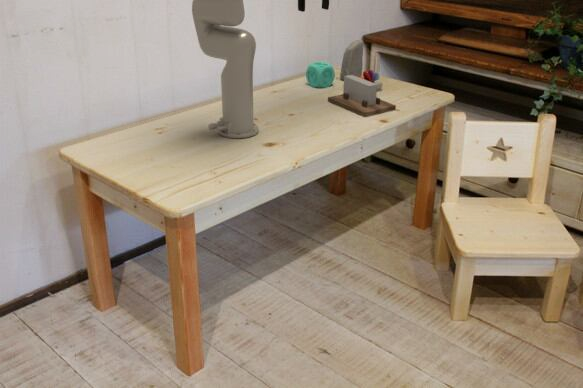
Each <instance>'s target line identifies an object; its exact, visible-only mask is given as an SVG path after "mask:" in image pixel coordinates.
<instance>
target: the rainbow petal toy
mask: <svg viewBox="0 0 583 388" xmlns="http://www.w3.org/2000/svg"><path fill="white" fill-rule="evenodd" d="M359 78H361V79H364V80H367V81H369V82H372V83H374V84H377V91H380V90H381V89H382V87H383V81H382V80H380V74H379V73H378V72H375V71H374V70H373V69H369V70H368V71H366V70H364V71H362V76H359Z"/></svg>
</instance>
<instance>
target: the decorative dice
mask: <svg viewBox="0 0 583 388" xmlns="http://www.w3.org/2000/svg"><path fill="white" fill-rule="evenodd" d="M335 74H336V72H335V69H334V67H333V65H332V64H331V63H329V62H325V61H315V62H310V64H309V65H308V67H307V68H306V71H305V78H306V81H307V83H308V85H310V86H311V87H312V88H316V89H317V88H321V89H322V88H323V89H324V88H328V87H331V85H332V84H333V82H334V80H335V76H336V75H335Z"/></svg>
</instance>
